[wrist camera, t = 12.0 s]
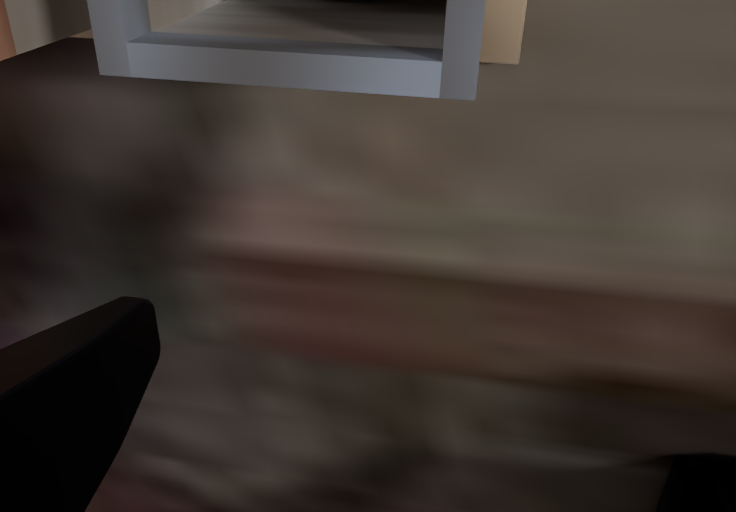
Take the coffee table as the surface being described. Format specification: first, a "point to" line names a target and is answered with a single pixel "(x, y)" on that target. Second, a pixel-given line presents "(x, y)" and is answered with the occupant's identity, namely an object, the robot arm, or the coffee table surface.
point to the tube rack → (283, 40)
